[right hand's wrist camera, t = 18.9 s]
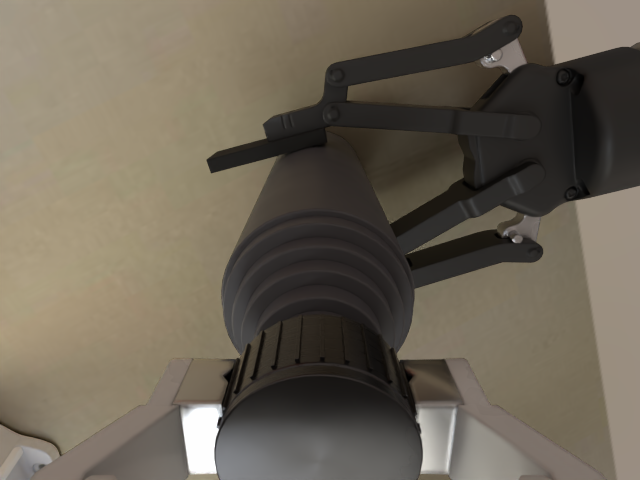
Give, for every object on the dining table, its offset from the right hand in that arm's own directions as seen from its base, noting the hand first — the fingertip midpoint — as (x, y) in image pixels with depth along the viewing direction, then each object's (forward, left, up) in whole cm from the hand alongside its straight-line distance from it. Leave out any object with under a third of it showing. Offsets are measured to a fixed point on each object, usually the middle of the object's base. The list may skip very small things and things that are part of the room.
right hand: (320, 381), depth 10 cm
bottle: (0, 0, -23) cm, 23 cm away
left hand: (0, +5, -16) cm, 17 cm away
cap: (0, 0, +2) cm, 2 cm away
